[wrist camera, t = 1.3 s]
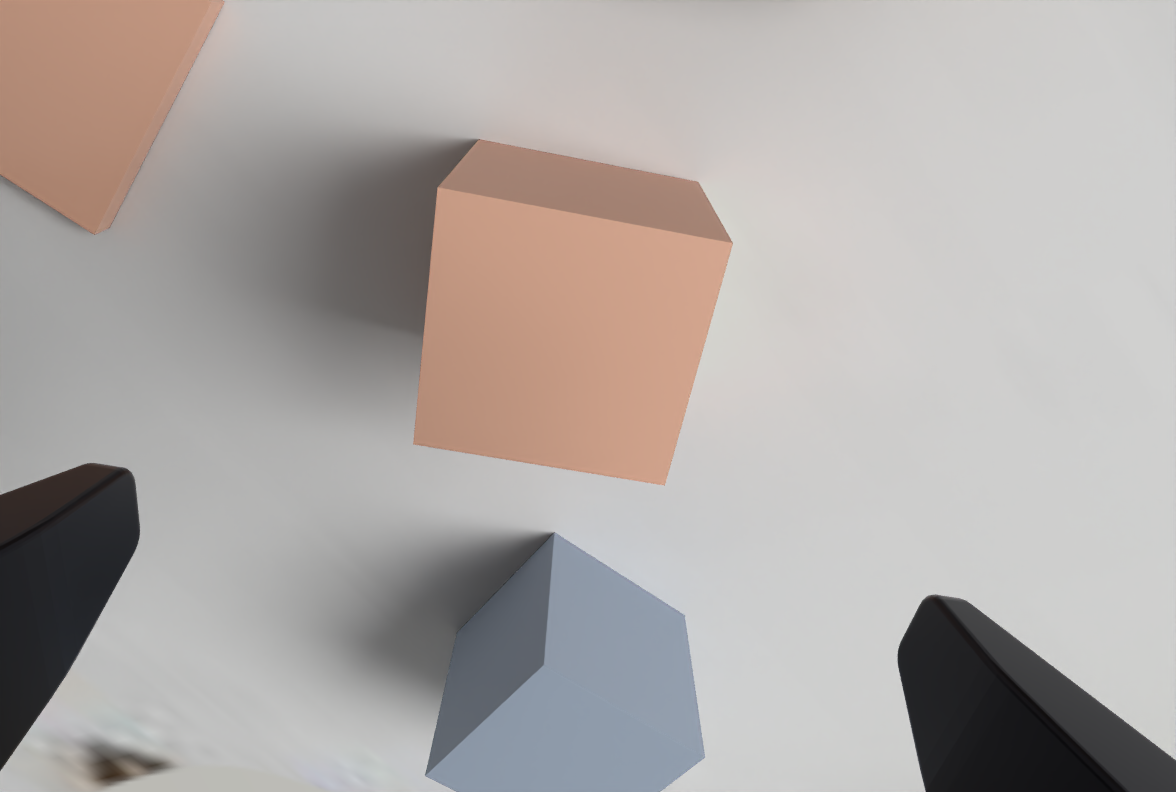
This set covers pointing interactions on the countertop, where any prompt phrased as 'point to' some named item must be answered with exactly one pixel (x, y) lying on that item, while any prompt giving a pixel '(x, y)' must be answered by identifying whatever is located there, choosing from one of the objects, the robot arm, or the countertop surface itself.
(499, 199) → the terracotta cube
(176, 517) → the countertop surface
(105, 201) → the terracotta tile
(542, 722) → the slate-blue cube
